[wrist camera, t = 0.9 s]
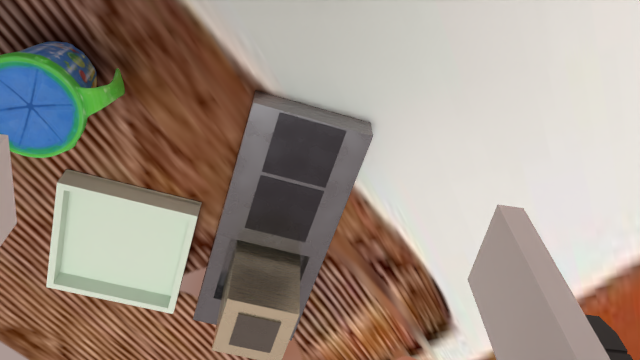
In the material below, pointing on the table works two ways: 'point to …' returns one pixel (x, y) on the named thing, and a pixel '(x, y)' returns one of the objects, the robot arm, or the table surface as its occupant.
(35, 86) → the snack cup
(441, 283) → the table surface
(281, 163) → the grey compartment tray
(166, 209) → the parts tray
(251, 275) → the square wooden post
